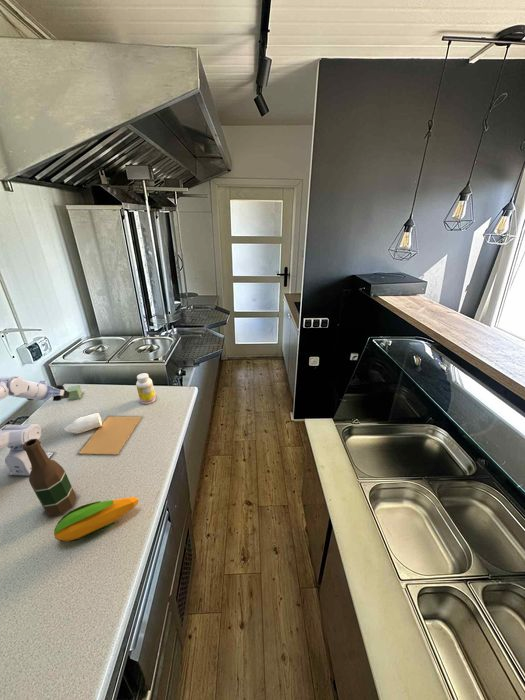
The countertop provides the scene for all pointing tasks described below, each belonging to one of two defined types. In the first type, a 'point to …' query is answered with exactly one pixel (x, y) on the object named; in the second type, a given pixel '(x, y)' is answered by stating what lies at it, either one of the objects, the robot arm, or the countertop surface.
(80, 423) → the white radish
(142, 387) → the supplement bottle
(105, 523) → the corn
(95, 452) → the mat
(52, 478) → the beer bottle
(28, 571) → the countertop surface
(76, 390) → the block
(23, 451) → the robot arm
